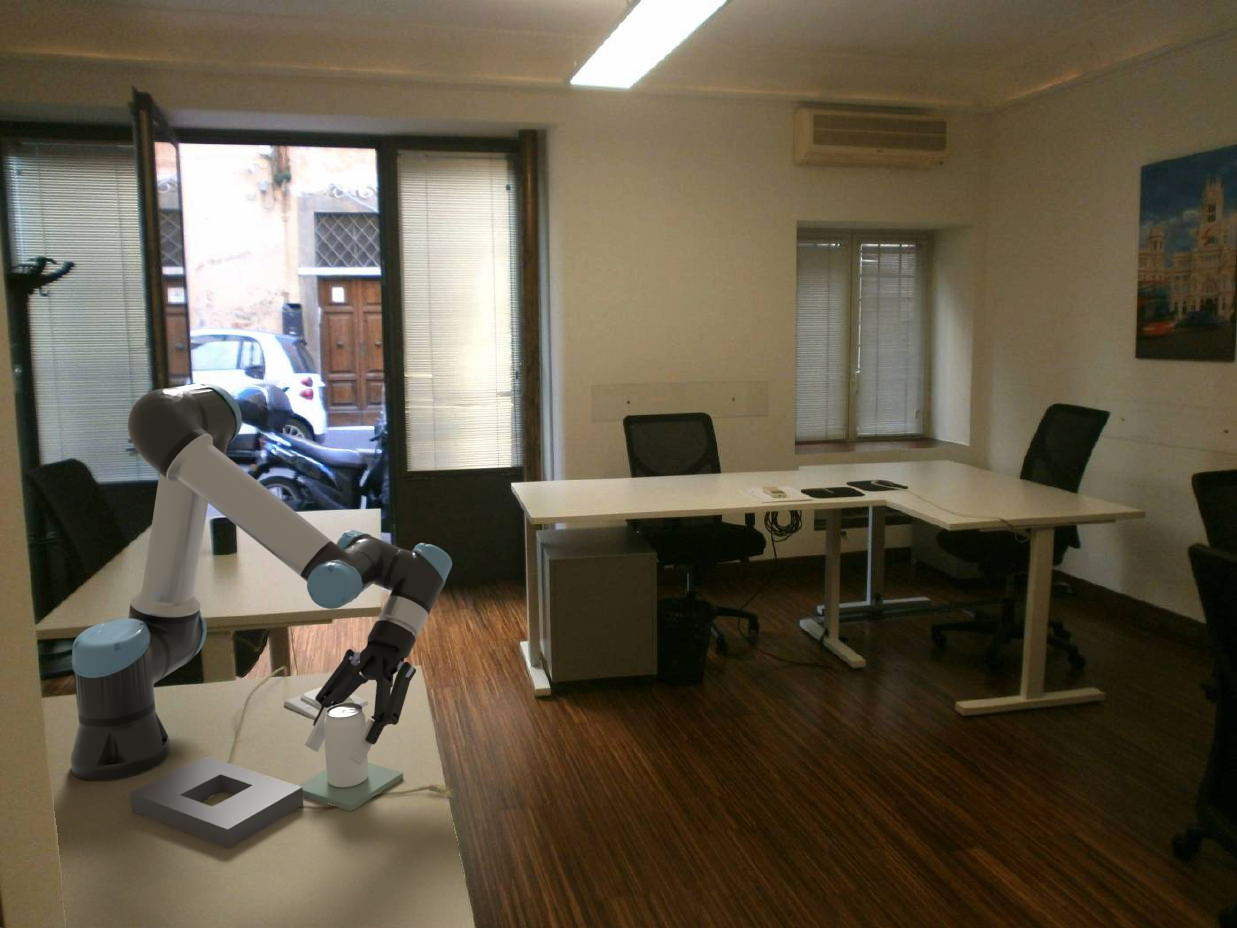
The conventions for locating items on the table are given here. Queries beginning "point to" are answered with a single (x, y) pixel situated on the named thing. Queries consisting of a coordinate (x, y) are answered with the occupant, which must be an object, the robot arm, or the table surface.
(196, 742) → the table surface
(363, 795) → the mat
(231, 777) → the block
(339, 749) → the can
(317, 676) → the table surface
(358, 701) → the light switch
